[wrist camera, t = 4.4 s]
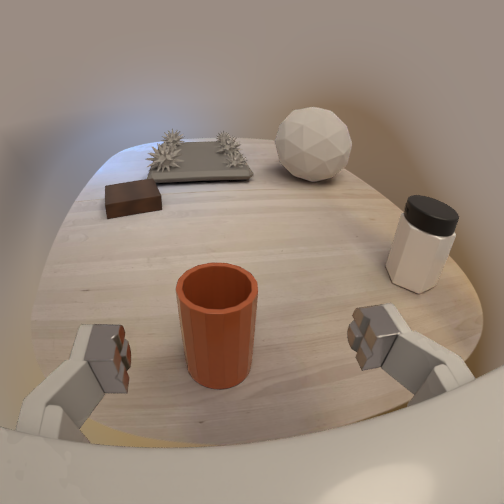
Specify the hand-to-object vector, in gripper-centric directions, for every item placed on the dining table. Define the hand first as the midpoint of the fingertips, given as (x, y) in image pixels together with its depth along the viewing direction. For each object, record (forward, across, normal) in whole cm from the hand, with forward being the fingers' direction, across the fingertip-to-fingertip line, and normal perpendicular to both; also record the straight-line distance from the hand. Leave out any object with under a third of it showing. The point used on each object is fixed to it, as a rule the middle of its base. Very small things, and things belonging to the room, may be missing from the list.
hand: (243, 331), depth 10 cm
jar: (+23, -30, +18) cm, 42 cm away
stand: (+53, +15, +17) cm, 57 cm away
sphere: (+67, -27, +18) cm, 75 cm away
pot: (+12, 0, +18) cm, 21 cm away
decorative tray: (+79, +2, +18) cm, 81 cm away
